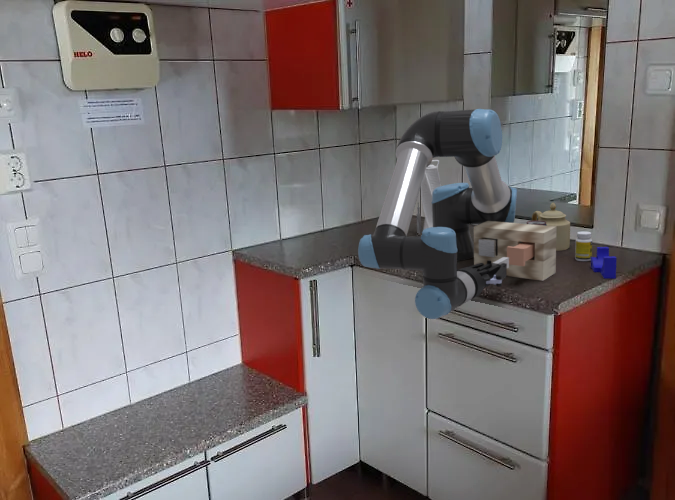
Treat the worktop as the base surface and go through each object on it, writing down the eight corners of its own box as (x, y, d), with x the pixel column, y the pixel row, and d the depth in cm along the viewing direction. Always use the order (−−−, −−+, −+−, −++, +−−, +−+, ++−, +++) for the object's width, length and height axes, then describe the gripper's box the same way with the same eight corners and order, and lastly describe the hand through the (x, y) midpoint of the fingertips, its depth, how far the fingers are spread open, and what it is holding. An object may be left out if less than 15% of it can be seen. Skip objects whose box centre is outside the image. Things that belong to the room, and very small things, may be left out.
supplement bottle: (593, 261, 189) (594, 234, 187) (576, 261, 190) (577, 234, 188) (590, 257, 193) (591, 230, 191) (573, 257, 194) (574, 231, 192)
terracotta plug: (506, 264, 172) (506, 247, 170) (525, 253, 181) (526, 237, 180) (523, 266, 169) (523, 248, 167) (542, 255, 178) (542, 239, 177)
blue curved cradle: (590, 267, 184) (591, 247, 183) (607, 266, 183) (607, 246, 182) (598, 279, 173) (598, 257, 171) (615, 279, 172) (616, 257, 170)
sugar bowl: (517, 247, 211) (518, 202, 207) (533, 240, 218) (534, 197, 215) (560, 252, 201) (561, 206, 197) (575, 245, 208) (576, 200, 205)
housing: (474, 271, 187) (473, 226, 183) (488, 263, 193) (487, 220, 190) (543, 280, 173) (543, 233, 170) (555, 272, 180) (556, 226, 177)
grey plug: (478, 255, 182) (478, 239, 181) (498, 245, 191) (498, 230, 190) (494, 257, 179) (494, 240, 178) (513, 247, 188) (513, 231, 187)
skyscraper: (432, 231, 243) (430, 159, 236) (447, 234, 236) (445, 160, 230) (415, 235, 238) (413, 161, 231) (431, 238, 232) (429, 162, 225)
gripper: (438, 297, 153) (483, 272, 170) (487, 305, 145) (529, 279, 162) (437, 267, 151) (483, 245, 168) (487, 274, 143) (530, 251, 160)
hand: (506, 262), depth 165 cm, fingers closed
